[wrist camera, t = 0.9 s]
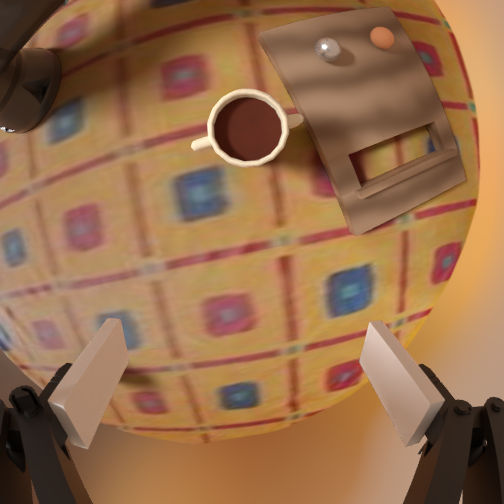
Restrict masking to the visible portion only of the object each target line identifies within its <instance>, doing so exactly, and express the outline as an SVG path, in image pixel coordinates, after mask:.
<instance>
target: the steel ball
mask: <svg viewBox="0 0 504 504" xmlns="http://www.w3.org/2000/svg"><path fill="white" fill-rule="evenodd" d="M315 52H316V54H317V56H318V57H319V58H320V59H322V60H324V61H335V60H337V59H338V58H339V57H340V55H341V53H342V49H341V46H340V44H339V43H338V42H337V41H336V40H335V39H333V38H329V37H325V38H321V39H320V40H318V41H317V42H316V44H315Z"/></svg>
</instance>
